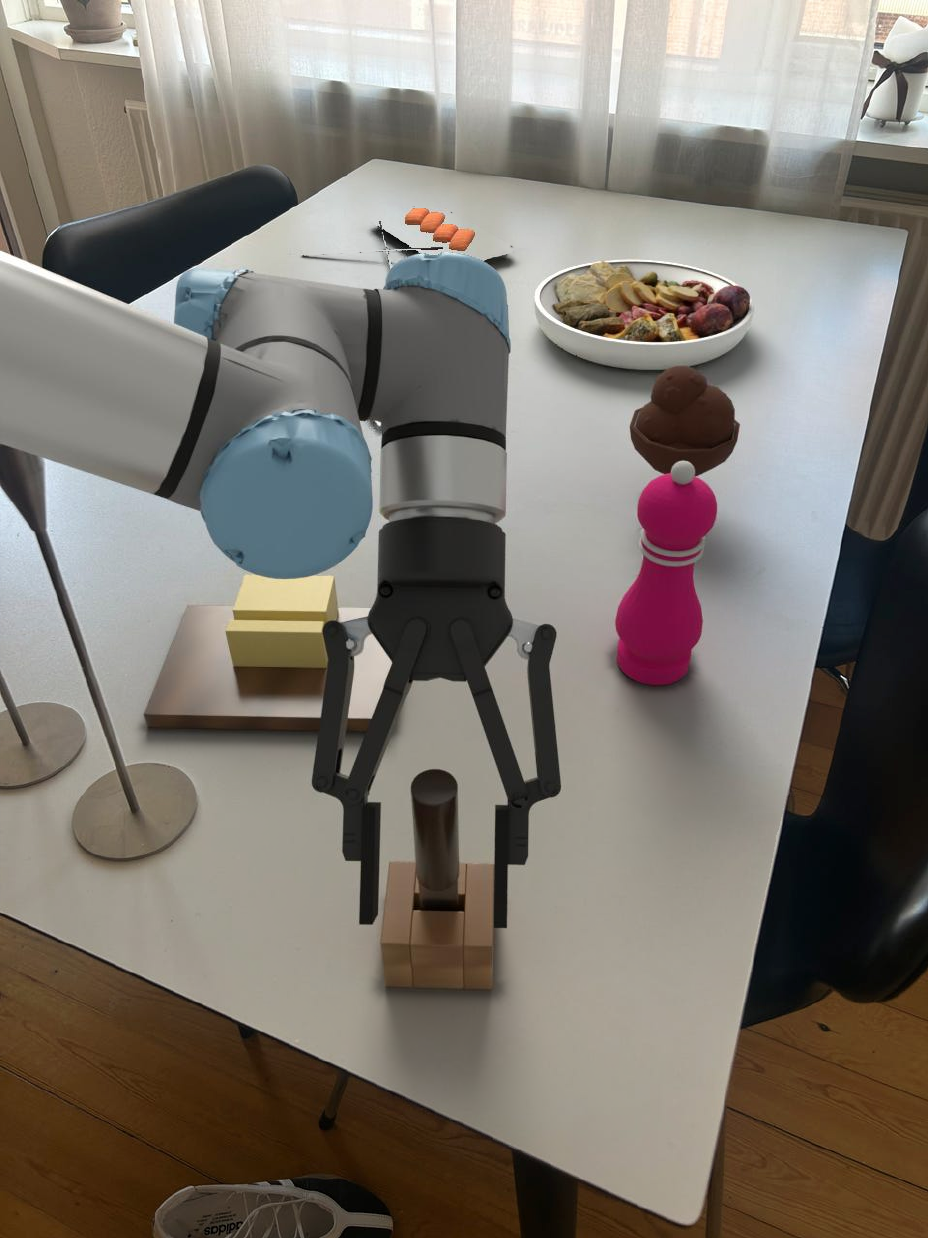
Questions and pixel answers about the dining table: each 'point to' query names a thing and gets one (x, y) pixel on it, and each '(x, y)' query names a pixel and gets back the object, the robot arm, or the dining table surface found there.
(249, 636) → the butter slice
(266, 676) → the butter board
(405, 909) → the knife stand
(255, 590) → the butter block
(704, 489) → the pepper mill
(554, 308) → the bowl
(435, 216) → the sushi plate
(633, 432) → the ice cream bowl
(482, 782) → the dining table surface
